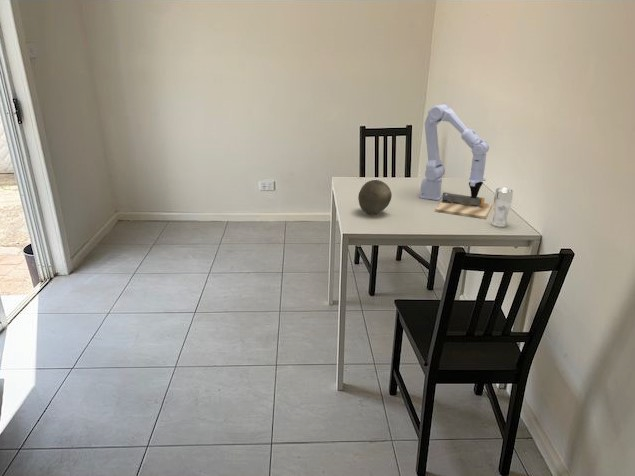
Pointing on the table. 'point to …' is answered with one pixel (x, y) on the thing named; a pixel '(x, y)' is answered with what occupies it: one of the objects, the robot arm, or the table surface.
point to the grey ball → (374, 196)
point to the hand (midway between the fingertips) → (474, 197)
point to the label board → (464, 209)
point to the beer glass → (502, 206)
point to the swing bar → (463, 199)
